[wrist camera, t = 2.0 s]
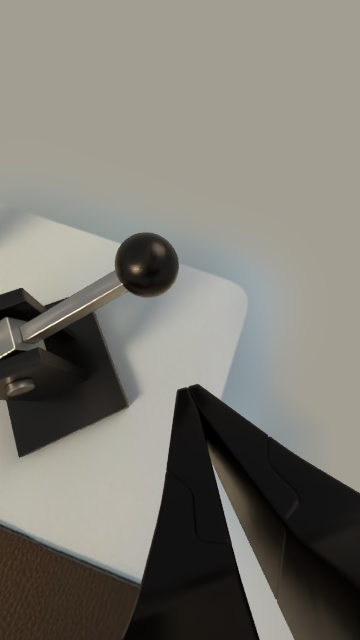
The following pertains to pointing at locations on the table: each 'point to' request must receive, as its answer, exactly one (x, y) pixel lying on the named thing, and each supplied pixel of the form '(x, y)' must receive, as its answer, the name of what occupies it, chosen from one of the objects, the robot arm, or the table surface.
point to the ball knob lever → (98, 292)
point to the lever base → (57, 378)
